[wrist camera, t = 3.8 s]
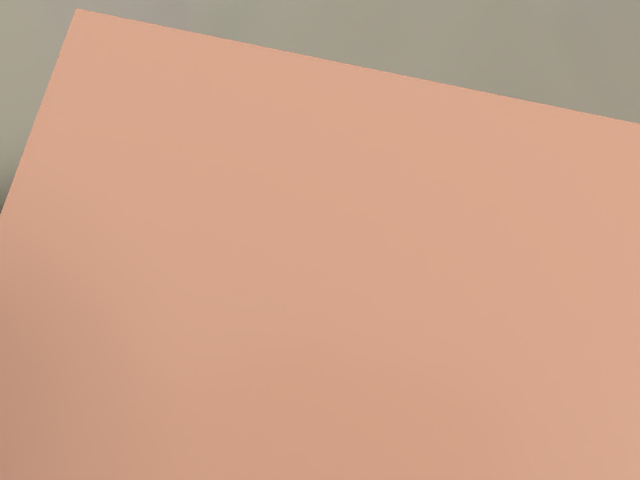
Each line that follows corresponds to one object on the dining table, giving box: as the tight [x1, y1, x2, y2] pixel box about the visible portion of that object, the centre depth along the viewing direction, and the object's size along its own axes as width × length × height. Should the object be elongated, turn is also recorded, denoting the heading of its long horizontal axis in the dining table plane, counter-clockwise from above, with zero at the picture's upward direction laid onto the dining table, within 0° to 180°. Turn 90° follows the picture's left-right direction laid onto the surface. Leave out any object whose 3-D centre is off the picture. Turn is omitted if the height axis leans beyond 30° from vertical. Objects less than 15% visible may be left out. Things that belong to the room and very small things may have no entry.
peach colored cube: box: [0, 8, 640, 480], centre depth 9 cm, size 6×6×8 cm
